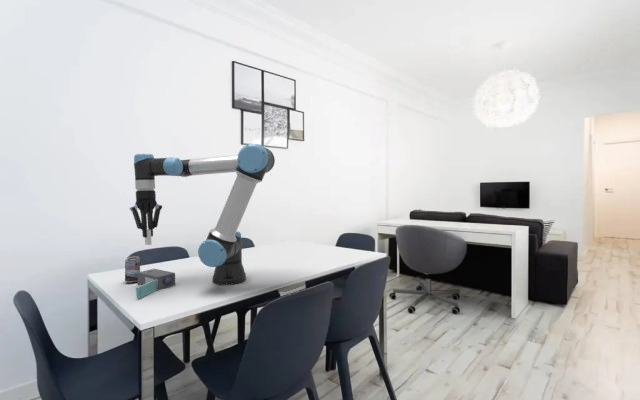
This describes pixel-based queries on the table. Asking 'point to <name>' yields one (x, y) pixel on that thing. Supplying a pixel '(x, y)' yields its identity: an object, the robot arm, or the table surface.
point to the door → (147, 288)
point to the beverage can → (132, 269)
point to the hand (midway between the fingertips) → (148, 244)
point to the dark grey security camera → (163, 278)
